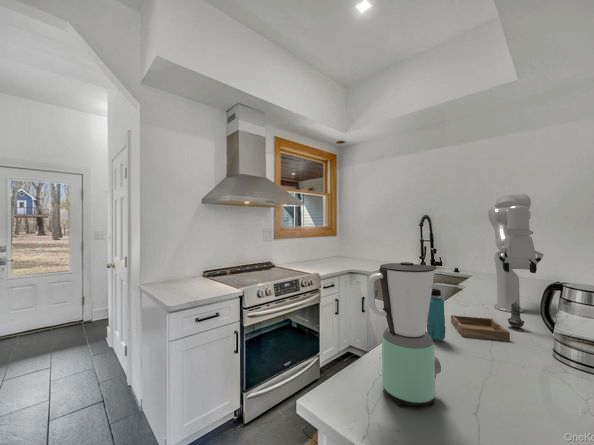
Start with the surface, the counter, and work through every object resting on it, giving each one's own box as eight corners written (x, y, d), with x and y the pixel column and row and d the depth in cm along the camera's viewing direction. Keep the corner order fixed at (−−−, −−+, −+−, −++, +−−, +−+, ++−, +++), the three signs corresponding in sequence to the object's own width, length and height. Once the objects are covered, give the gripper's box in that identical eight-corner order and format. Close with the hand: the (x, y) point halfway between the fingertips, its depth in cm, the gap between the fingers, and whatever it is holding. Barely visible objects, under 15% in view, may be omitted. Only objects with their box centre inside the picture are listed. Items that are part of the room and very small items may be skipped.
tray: (451, 322, 123) (451, 315, 123) (492, 326, 118) (492, 318, 118) (461, 336, 107) (461, 328, 107) (509, 341, 102) (509, 332, 102)
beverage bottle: (449, 343, 100) (448, 291, 101) (431, 343, 101) (430, 291, 101) (440, 336, 107) (439, 287, 107) (423, 336, 107) (422, 287, 108)
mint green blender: (423, 378, 77) (421, 259, 78) (455, 409, 64) (452, 266, 65) (360, 382, 76) (359, 260, 76) (380, 415, 62) (378, 267, 63)
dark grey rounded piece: (528, 332, 112) (527, 303, 112) (512, 331, 113) (511, 302, 113) (519, 326, 117) (518, 299, 118) (504, 326, 119) (503, 299, 119)
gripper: (536, 234, 118) (538, 272, 117) (492, 233, 123) (493, 270, 122) (547, 233, 111) (549, 274, 110) (499, 233, 116) (500, 272, 115)
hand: (519, 272), depth 116 cm, fingers open, 9 cm apart
